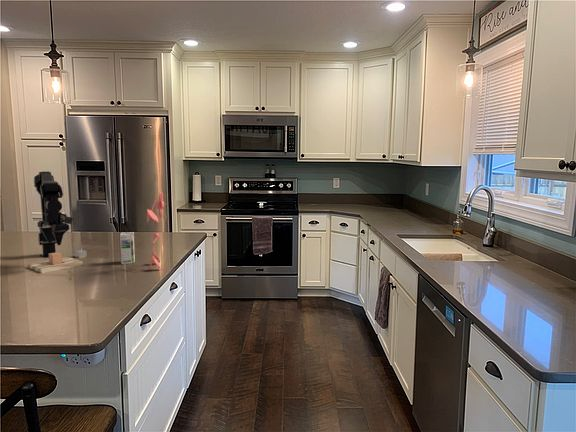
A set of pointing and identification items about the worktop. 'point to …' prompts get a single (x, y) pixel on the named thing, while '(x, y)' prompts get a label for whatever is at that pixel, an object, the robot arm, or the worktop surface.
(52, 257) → the tall peg
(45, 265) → the hole board
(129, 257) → the syrup box
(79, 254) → the short peg
